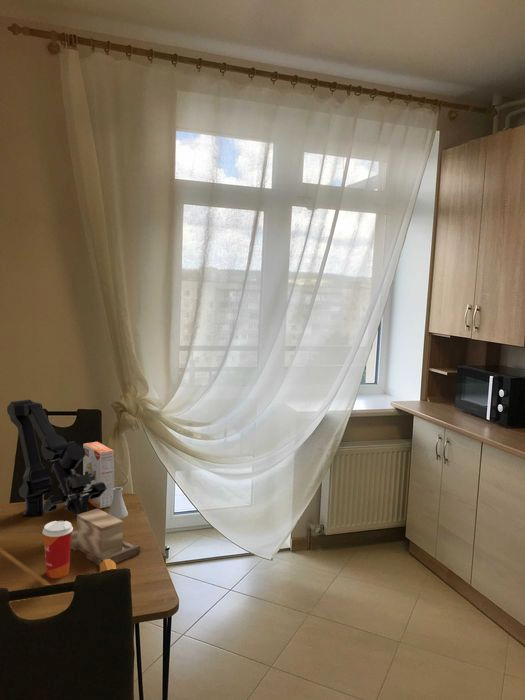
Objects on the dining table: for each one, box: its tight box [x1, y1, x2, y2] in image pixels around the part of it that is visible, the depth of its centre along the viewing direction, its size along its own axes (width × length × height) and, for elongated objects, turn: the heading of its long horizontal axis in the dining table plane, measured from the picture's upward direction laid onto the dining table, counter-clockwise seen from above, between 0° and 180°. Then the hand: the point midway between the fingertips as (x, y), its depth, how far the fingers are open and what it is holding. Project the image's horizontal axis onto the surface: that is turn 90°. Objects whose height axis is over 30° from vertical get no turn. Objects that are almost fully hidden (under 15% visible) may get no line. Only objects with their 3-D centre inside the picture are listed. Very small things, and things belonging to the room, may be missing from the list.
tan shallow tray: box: [71, 529, 141, 567], centre depth 166 cm, size 26×22×3 cm
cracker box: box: [82, 441, 115, 510], centre depth 199 cm, size 14×6×21 cm, turn 41°
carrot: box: [99, 559, 117, 572], centre depth 144 cm, size 20×4×4 cm, turn 26°
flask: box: [108, 486, 129, 520], centre depth 189 cm, size 7×7×10 cm
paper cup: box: [41, 520, 74, 579], centre depth 149 cm, size 8×8×14 cm
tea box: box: [76, 507, 124, 559], centre depth 165 cm, size 13×7×9 cm, turn 49°
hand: (86, 521), depth 169 cm, fingers closed
